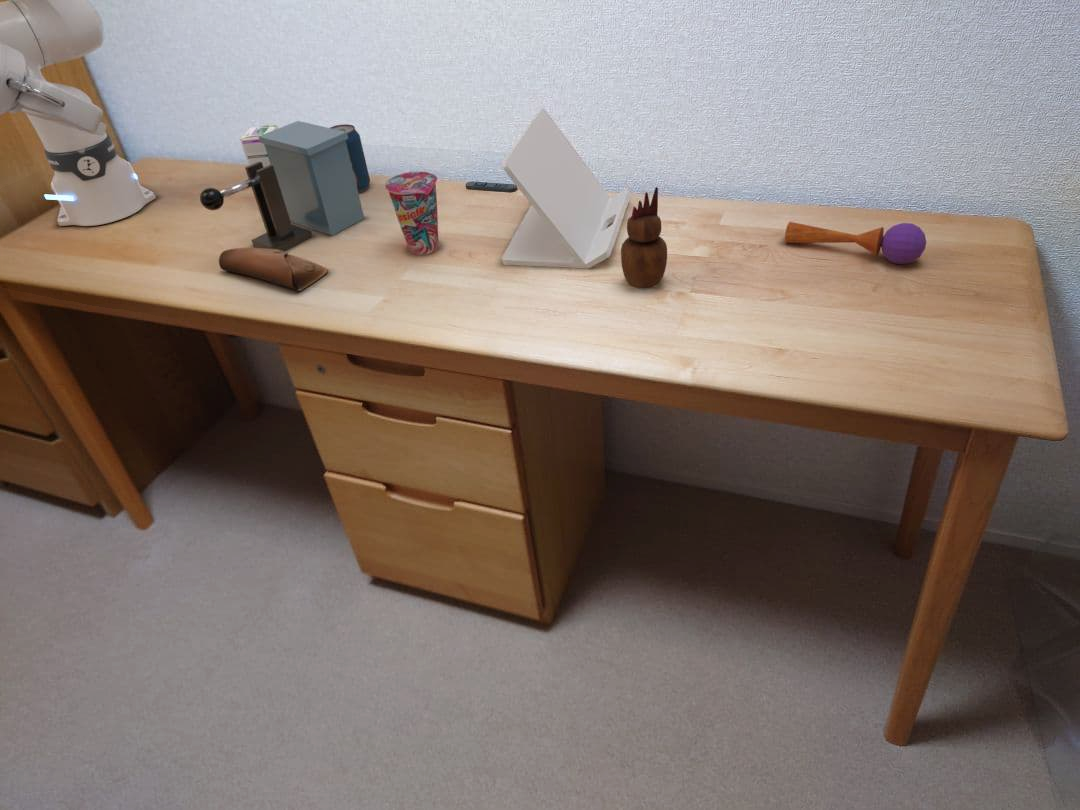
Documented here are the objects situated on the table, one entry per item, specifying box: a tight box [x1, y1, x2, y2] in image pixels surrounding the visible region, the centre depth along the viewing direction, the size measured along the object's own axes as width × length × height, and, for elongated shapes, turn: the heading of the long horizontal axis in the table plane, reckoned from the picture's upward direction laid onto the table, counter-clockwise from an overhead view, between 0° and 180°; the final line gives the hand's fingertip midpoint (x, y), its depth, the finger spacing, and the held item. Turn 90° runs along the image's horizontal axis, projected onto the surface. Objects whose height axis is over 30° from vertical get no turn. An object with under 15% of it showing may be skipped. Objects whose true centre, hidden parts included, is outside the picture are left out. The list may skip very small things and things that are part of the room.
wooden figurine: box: [620, 186, 668, 290], centre depth 111 cm, size 7×6×15 cm
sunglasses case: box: [218, 247, 329, 292], centre depth 128 cm, size 18×7×7 cm
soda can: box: [329, 123, 371, 194], centre depth 151 cm, size 7×7×12 cm
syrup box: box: [239, 124, 279, 167], centre depth 147 cm, size 6×6×14 cm
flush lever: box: [199, 172, 260, 211], centre depth 127 cm, size 13×4×4 cm, turn 142°
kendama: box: [784, 221, 927, 265], centre depth 117 cm, size 6×6×20 cm
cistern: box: [259, 120, 366, 237], centre depth 139 cm, size 9×14×16 cm, turn 52°
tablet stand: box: [501, 108, 633, 269], centre depth 126 cm, size 18×25×17 cm
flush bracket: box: [244, 162, 313, 252], centre depth 134 cm, size 8×7×14 cm
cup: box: [385, 171, 440, 256], centre depth 127 cm, size 9×8×12 cm
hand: (100, 129), depth 108 cm, fingers closed
